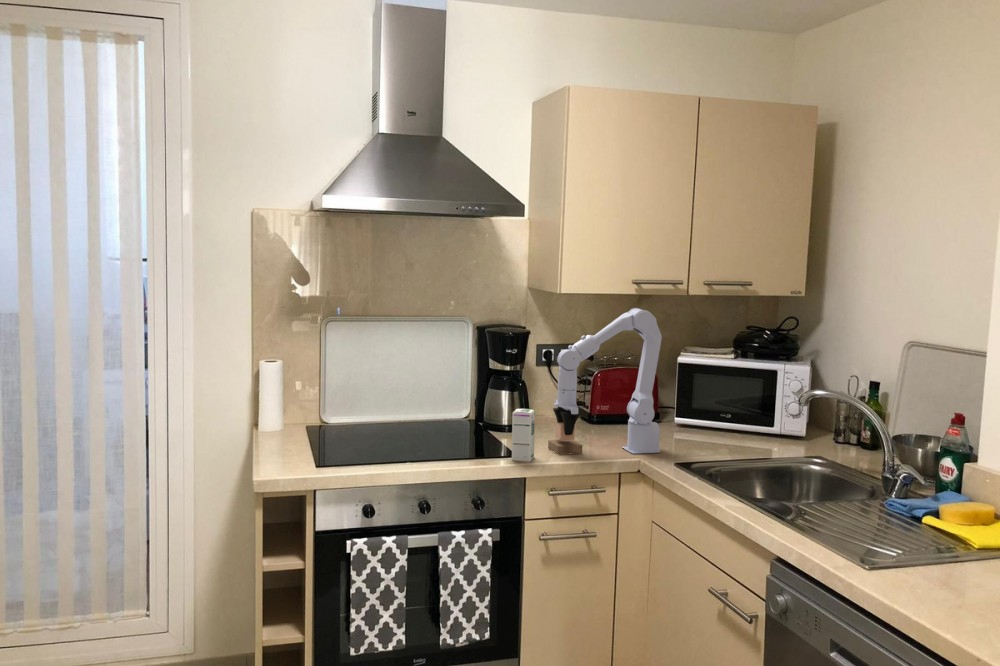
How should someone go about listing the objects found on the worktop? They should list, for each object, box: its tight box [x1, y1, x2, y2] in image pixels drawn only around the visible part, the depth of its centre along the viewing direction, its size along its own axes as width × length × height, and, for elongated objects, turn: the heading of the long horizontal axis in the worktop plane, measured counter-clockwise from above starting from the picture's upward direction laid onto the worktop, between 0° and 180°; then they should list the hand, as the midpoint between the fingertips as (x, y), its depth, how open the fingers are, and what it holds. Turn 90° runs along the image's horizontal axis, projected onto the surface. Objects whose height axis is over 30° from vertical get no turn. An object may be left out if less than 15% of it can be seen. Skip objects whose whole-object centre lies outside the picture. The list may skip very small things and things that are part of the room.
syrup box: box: [511, 408, 536, 463], centre depth 244 cm, size 6×6×14 cm
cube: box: [554, 422, 576, 440], centre depth 255 cm, size 4×4×4 cm
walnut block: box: [547, 439, 583, 455], centre depth 256 cm, size 8×8×3 cm
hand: (565, 432), depth 256 cm, fingers closed on cube, 4 cm apart
